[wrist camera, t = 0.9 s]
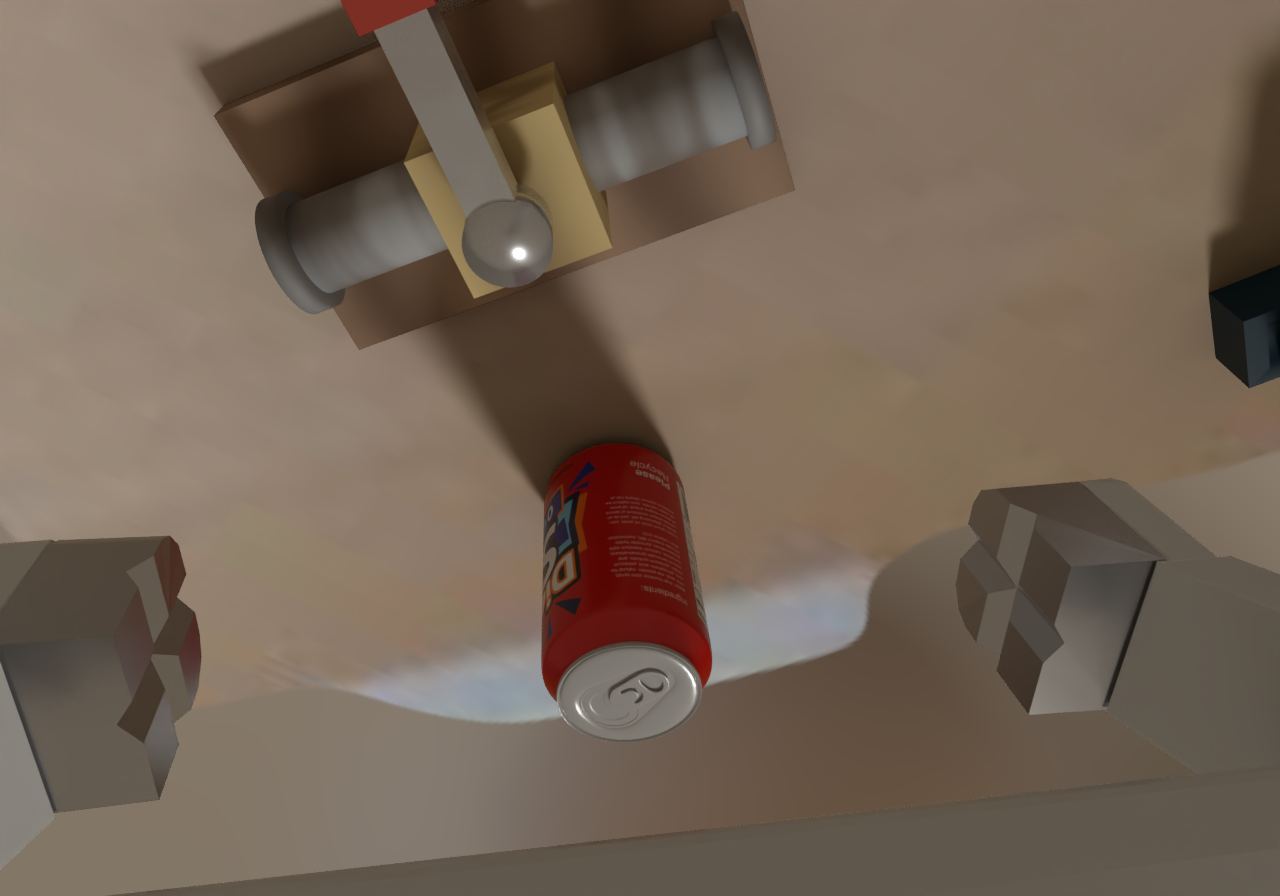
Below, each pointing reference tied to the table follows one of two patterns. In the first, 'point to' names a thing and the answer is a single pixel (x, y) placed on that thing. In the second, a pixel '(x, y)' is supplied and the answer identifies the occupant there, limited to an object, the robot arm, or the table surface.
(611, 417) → the table surface
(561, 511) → the soda can
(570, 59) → the valve mount
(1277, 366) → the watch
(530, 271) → the valve lever
